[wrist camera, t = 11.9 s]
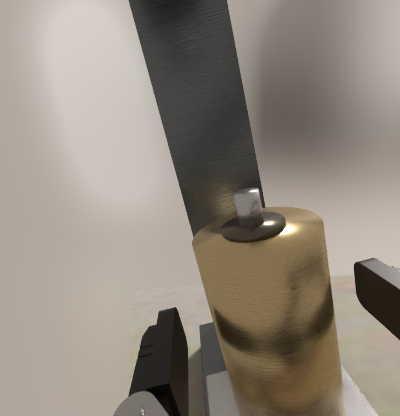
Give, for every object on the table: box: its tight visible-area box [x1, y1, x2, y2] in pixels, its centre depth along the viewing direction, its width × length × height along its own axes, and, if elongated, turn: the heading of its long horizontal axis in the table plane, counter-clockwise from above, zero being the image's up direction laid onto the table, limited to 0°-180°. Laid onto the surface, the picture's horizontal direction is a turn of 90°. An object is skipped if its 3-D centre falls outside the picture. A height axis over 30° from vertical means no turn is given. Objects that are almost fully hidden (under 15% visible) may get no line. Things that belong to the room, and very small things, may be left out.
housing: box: [192, 188, 347, 416], centre depth 11 cm, size 5×5×14 cm
